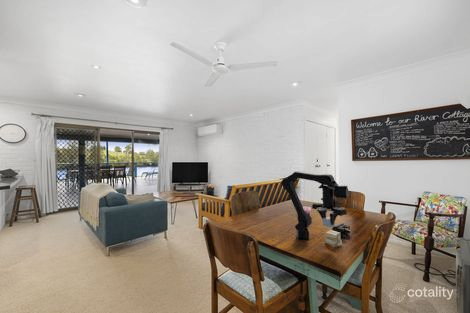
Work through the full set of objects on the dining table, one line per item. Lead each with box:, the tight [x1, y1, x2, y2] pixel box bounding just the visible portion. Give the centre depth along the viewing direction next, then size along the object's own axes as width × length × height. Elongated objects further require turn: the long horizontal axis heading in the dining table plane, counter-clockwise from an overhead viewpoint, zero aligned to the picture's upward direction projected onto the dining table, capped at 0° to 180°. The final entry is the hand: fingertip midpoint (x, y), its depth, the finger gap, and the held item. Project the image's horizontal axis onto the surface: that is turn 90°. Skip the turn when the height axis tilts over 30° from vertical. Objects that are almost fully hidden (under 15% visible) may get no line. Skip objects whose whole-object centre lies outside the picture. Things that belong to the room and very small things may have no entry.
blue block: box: [321, 216, 336, 228], centre depth 114 cm, size 4×4×4 cm
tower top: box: [325, 229, 341, 241], centre depth 116 cm, size 6×6×4 cm
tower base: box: [324, 236, 343, 248], centre depth 116 cm, size 6×6×4 cm
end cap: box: [331, 222, 351, 240], centre depth 128 cm, size 10×7×7 cm
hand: (328, 223), depth 114 cm, fingers closed on blue block, 4 cm apart
